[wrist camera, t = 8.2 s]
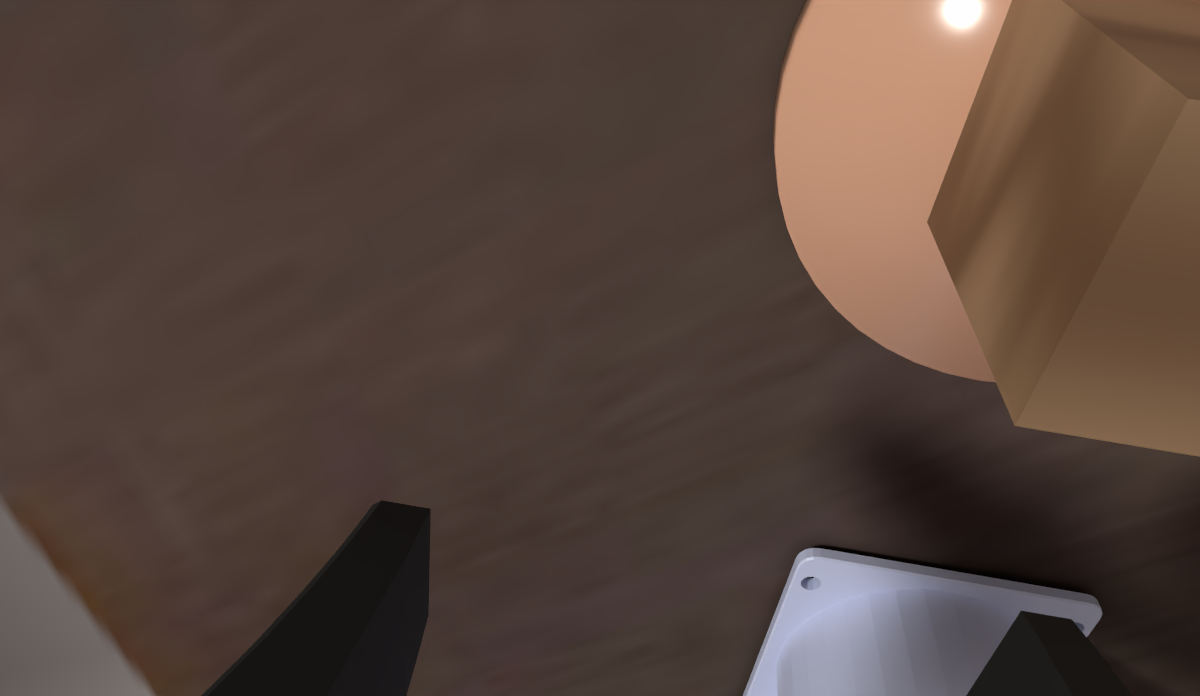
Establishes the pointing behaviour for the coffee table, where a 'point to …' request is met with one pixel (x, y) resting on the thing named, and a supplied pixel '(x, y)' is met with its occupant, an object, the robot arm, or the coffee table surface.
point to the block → (1085, 219)
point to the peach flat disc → (882, 162)
